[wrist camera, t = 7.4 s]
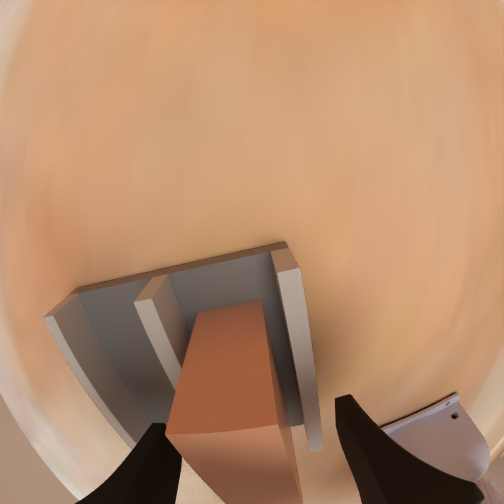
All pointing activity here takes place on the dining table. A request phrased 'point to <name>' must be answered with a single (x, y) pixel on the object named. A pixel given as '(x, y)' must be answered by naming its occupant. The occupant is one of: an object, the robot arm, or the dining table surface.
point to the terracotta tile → (235, 410)
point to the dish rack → (182, 334)
